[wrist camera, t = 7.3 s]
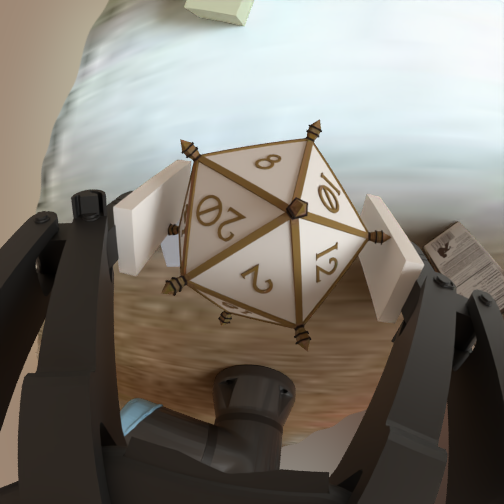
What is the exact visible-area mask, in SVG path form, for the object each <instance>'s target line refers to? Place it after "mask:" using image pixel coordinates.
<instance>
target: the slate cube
mask: <svg viewBox="0 0 504 504" xmlns="http://www.w3.org/2000/svg"><path fill="white" fill-rule="evenodd" d="M179 223H180V219H179V221H178V222H177V223H176V225H177V226H179ZM161 248H162V251H163V255H164V258H165V261H166V265H167V267H174V266H180V256H179V237H178V234H177V235H170V236H169V235H167V236H166V237H165V239H164V240H163V241H162V243H161Z"/></svg>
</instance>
